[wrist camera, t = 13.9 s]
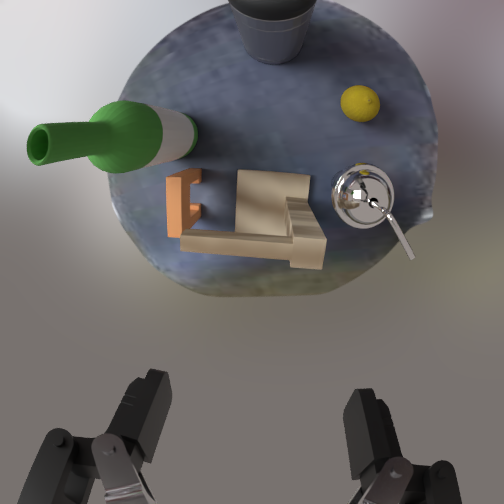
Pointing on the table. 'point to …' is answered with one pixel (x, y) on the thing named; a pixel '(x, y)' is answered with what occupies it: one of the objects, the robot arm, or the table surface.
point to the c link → (181, 201)
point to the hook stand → (267, 222)
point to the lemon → (360, 103)
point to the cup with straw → (365, 199)
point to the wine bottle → (117, 138)
